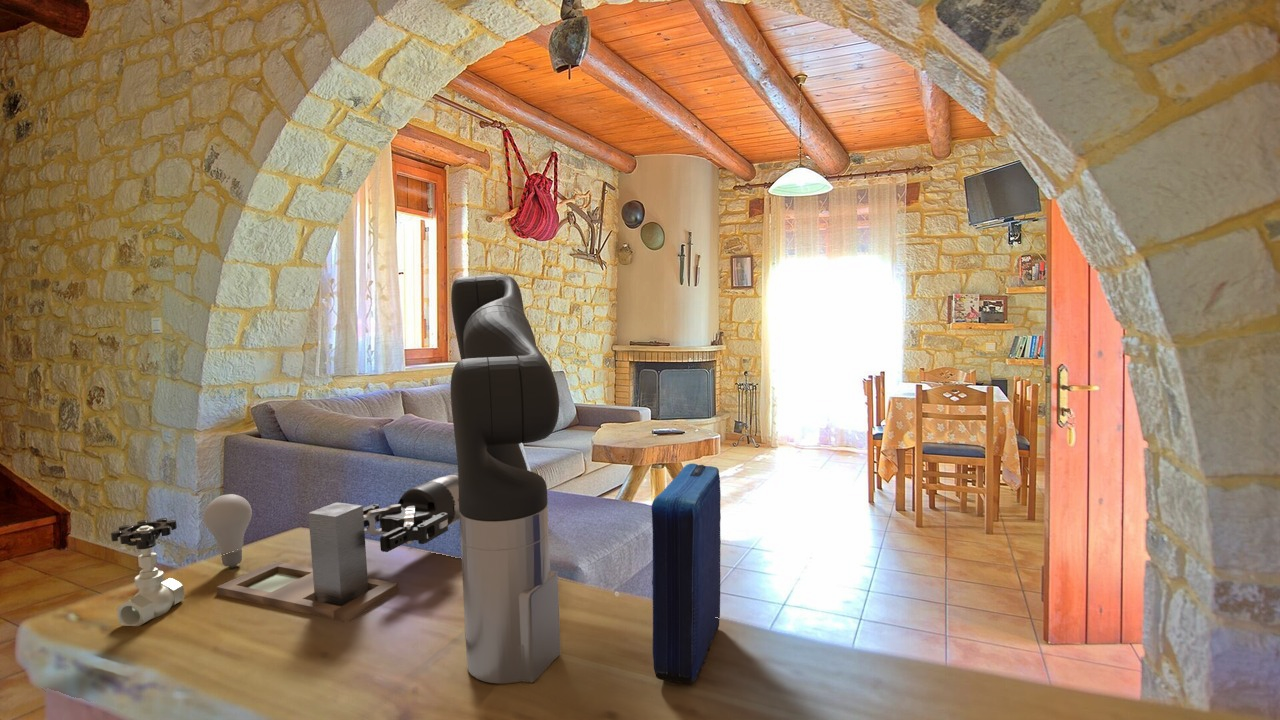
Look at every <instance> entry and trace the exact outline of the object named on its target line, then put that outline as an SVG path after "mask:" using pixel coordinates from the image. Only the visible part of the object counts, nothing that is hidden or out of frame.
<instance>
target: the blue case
mask: <svg viewBox="0 0 1280 720" xmlns="http://www.w3.org/2000/svg"><path fill="white" fill-rule="evenodd" d="M719 470H720V469H719V468H718V467H716V466H712V465H704V464H696V463H687V464H686V465H684V466H683V468H682V469H681V470H680V472H679V473H678V474H677V475H676V477H675V478H673V479H672V481H671V482H670V483H669V484H668V485H667V486H666V487H665V488H664V489H663V490H662V491H661V493H659V494H658V495H657V496H656V497H655V498H654V499H653V501H652V504H651V524H652V525H651V526H652V580H651V586H652V658H653V659H652V661H653V671H654V674H655V677H656V678H657V679H658V680H663V681H670V682H674V683H682V684H684V685H692V684H694V683H695V682H696V680H697V678H698V677H699V676H700V674H701V672H702V668H703V667H704V665H705V663H706V659H707V655H708V652H710V651H711V650H710V649H711V645H712V642H713V640H714V638H715V634H716V633H717V632H718V630H719V628H720V620H721V619H718V618H720V617H721V546H722V545H721V542H722V541H721V520H722V519H721V517H722V516H721V499H722V498H721V496H722V495H721V491H722V490H721V477H720V471H719ZM715 617H718V618H715Z"/></svg>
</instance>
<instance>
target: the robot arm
mask: <svg viewBox="0 0 1280 720" xmlns="http://www.w3.org/2000/svg"><path fill="white" fill-rule="evenodd" d="M450 297H451V298H450V300H451V313H452V319H453V320H452V321H453V325H454V331H455V332H454V333H455V337H456V341H457V345H458V351H459V356H460V360H459V361H457V362H456V363H455V365H454V366H453V369H452V373H451V377H450V403H451V415H452V422H453V431H454V441H455V442H454V444H455V452H456V459H457V462H456V464H457V471H455V472H454V473H450V474H449V475H444V476H440V477H437V478H434V479H431V480H430V481H427V482H424V483H422V484H419V485H417V486H414V487H412V488H409V489H407V490H406V491H405V492H404V493H403V494H402V495H401V496H400V499H399V500H398V502H397V503H396V504H389V506H386V507H382V508H380V505H379V504H378V503H373V504H370V505H367V506H364V507H363V516H364V531H365V535H366V534H369V536H372V537H375V536H380V537H379V544H380V545H379V546H380V551H381V552H383V553H388V552H390V551H393V550H394V549H396V548H399V547H401V546H402V545H404V544H405V545H411V544H414V543H415V541H417V543H418V544H419V545H424V544H427V543H430V541H433V540H434V539H436V538H437V537H440V536H441V535H442V534H444V533H446V532H448V531H449V526H452V525H453V524H455V523H457V522H458V521H459V529H460V530H459V531H460V535H459V536H460V552H461V553H460V554H461V555H460V556H461V572H462V573H461V574H462V592H463V593H462V594H463V595H462V596H463V615H464V632H465V650H466V651H465V653H466V666H467V667H466V668H467V671H468V672H469V673H470V675H471V676H473V677H474V678H476V679H477V680H479V681H482V682H486V683H490V684H511V683H512V684H513V683H517V682H518V683H519V682H528V683H534V682H535V681H536V680H537V679H538V678H539V677H541V674H543V673H544V672H545V671H546V670H547V668H548V667H549V666H550V665H552V663H553V662H555V660H556V659H557V658H558V657H559V656H560V655H561V652H562V650H561V627H560V623H561V622H560V598H559V596H560V595H559V575H558V572H557V571H555V570H551V566H550V538H549V508H548V507H549V506H548V487H547V486H548V485H547V483H546V480H545V479H544V478H543V477H542V476H541V475H540V474H538V473H536V472H534V471H532V470H528V467H527V462H526V460H525V456H524V454H523V452H522V449H521V446H520V444H529V443H535V442H539V441H543V440H545V439H547V438H548V437H549V436H550V435H551V434H552V433H553V431H554V430H555V428H556V426H557V423H558V420H559V416H560V415H559V413H560V398H559V397H560V396H559V390H558V386H557V380H556V378H555V376H554V372H553V370H552V367H551V366H550V364H549V362H548V361H547V359H546V358H545V356H544V355H543V353H542V352H541V350H540V349H539V348H538V347H537V342H536V338H535V334H534V332H533V330H532V329H533V328H532V326H531V323H530V322H529V320H528V318H527V316H526V313H525V309H524V308H525V307H524V302H523V297H522V292H521V289H520V286H519V284H518V282H517V281H516V280H515V278H513V277H512V276H510V275H506V274H493V275H492V274H491V275H477V276H476V275H472V276H470V275H469V276H461V277H457V278H455V280H454V281H453V283H452V286H451V294H450ZM378 522H379V528H376V524H377V523H378Z"/></svg>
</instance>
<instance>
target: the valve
mask: <svg viewBox="0 0 1280 720" xmlns="http://www.w3.org/2000/svg"><path fill="white" fill-rule="evenodd" d="M177 524H178V523H177V521H176V520H168V518H167V517H161V518H158V519H156V520H155V521H154V520H153V521H149V520H148V519H141V520H138V521H137V522H136V524H134V525H128V524H123V525H120V526H118V528H117V529H118V530H114V531H112V532H110V540H111V542H118V541H119V542H120V544H121V545H127V546H131V547H136V550H139V551H140V550H141V554H140V555H139V554H138V556H137V560H138V561H137V562H138V567H139V568H141V570H140V571H139V574H138V575H136V576H135V577H134V586H135V588H138V591H137V593H136V594H135V595H134V596H133V597H132V598H131V599H129V600H127V601H125V602H124V603H122V604H120V605H119V606H117V609H116V611H117V613H116V615H117V620H118V622H119V624H121V625H122V626H123V627H125V626H127V627H129V626H132V627H140V626H142V625H143V624H145V623H147V622H149V621H150V620H152V619H156V618H158V617H160V616H163V615H164V614H166V613H168V611H170V609H171V608H172V607H174V606H175V605H176V604H178V603H180V602H182V601H183V600H185V590H184V585H183V584H182V583H181V582H180V581H178V580H177V579H175V578H171V577H169V578H168V579H165V573H164V571H163V570H159V569H158V568H157V567H155V566H156V565H157V564H158V558H157V553H156V552H154V551H152V549H153V547H155V546H156V545H157V544H156V543H157V542H156V541H157V540H158V538H159V537H160V535H161V537H166V536H170V535H172V532H171V530H172V531H174V530H177V528H178V526H177ZM133 539H134V540H133Z"/></svg>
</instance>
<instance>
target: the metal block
mask: <svg viewBox="0 0 1280 720" xmlns="http://www.w3.org/2000/svg"><path fill="white" fill-rule="evenodd" d="M363 508H364V505H362V504H361V505H360V504H352V503H346V502H338V501H337V502H333V503H331V504H328V505H325V506H323V507H320V508H318V509H314V510H311V511H309V512H308V526H309V539H310V540H309V541H310V552H311V565H312V567H311V568H313V581H314V594H315V601H316V602H321V603H326V604H331V605H336V606H341V607H342V606H344V605H345V604H347V603H349V602H351V601H352V600H354V599H356V598H358V597H359V596H361V595H363V594H365V593H367V592H368V578H369V577H368V564H367V563H368V561H367V550H366V534H365V531H364V528H365V527H364V516H363Z"/></svg>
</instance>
